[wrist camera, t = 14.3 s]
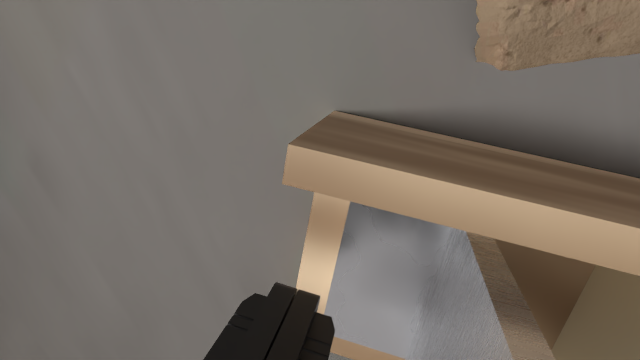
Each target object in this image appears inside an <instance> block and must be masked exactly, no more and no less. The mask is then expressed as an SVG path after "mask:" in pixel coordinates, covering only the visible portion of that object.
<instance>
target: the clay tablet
mask: <svg viewBox="0 0 640 360" xmlns="http://www.w3.org/2000/svg"><path fill="white" fill-rule="evenodd" d="M476 1H477V4H478V5H477V7H476V14H477V16H478V18H479V22H478V23H477V24H476V30H477V32H478V34H479V36H480V38H479V39H478V41H477V44H476V47H475V48H474V49H475V54H476V57H477V61H476V62H486V63H489V64H491V65H494V66H495V67H496V68H497V69H499V70H509V71H513V70H520V69H525V68H531V67H538V66H542V65H547V64H553V63H566V62H575V61H580V60H585V59H590V58H596V57H615V56H624V55H630V54H637V53H640V0H476Z"/></svg>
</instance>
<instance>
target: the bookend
mask: <svg viewBox="0 0 640 360" xmlns="http://www.w3.org/2000/svg"><path fill="white" fill-rule="evenodd" d="M324 315H327V316H330V317H332V320H333V324H334V328H335V334H334V337H337V338H340V339H343V340H347V341H350V342H353V343H356V344H359V345H362V346H366V347H369V348H372V349H375V350H378V351H381V352H385V353H388V354H391V355H394V356H397V357H400V358H404V359H405V360H556V359H555V357H554V355H553V353H552V351H551V349H550V347H549V345H548V344H547V342H546V340H545V338H544V336H543V334H542V332H541V330H540V328H539V326H538V324H537V322H536V320H535V318H534V316H533V314H532V312H531V310H530V308H529V306H528V304H527V302H526V300H525V299H524V297H523V295H522V293H521V291H520V289H519V287H518V285H517V283H516V281H515V279H514V277H513V275H512V273H511V271H510V269H509V267H508V265H507V263H506V261H505V259H504V257H503V255H502V253H501V252H500V250H499V248H498V246H497V244H496V242H495V240H494V238H490V237H486V236H483V235H479V234H475V233H471V232H467V231H463V230H459V229H455V228H452V227H448V226H444V225H440V224H436V223H432V222H428V221H424V220H421V219H417V218H413V217H409V216H405V215H401V214H397V213H393V212H390V211H386V210H382V209H378V208H374V207H370V206H366V205H362V204H358V203H355V202H351V201H350V205H349V209H348V214H347V218H346V222H345V226H344V231H343V235H342V239H341V244H340V248H339V252H338V256H337V261H336V265H335V269H334V273H333V278H332V282H331V286H330V291H329V295H328V299H327V303H326V308H325V312H324Z"/></svg>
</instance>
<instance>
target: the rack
mask: <svg viewBox="0 0 640 360" xmlns="http://www.w3.org/2000/svg"><path fill="white" fill-rule="evenodd" d="M282 184H285V185H289V186H293V187H296V188H300V189H304V190H308V191H312V192H314V198H313V203H312V208H311V213H310V218H309V223H308V229H307V234H306V239H305V244H304V249H303V255H302V260H301V265H300V270H299V275H298V280H297V286H296V289H298V290H299V289H300V290H303V291H307V292H310V293H313V294H316V295H320V301H319V305H318V310H317V313H321V314H324V312H325V308H326V303H327V299H328V295H329V291H330V286H331V282H332V278H333V273H334V269H335V265H336V261H337V256H338V252H339V248H340V244H341V239H342V235H343V231H344V226H345V222H346V218H347V214H348V209H349V205H350V201H351V202H355V203H358V204H362V205H366V206H370V207H374V208H378V209H382V210H386V211H390V212H393V213H397V214H401V215H405V216H409V217H413V218H417V219H421V220H424V221H428V222H432V223H436V224H440V225H444V226H448V227H452V228H455V229H459V230H463V231H467V232H471V233H475V234H479V235H483V236H486V237H490V238H494V240H495V242H496V244H497V246H498V248H499V250H500V252H501V253H502V255H503V257H504V259H505V261H506V263H507V265H508V267H509V269H510V271H511V273H512V275H513V277H514V279H515V281H516V283H517V285H518V287H519V289H520V291H521V293H522V295H523V297H524V299H525V300H526V302H527V304H528V306H529V308H530V310H531V312H532V314H533V316H534V318H535V320H536V322H537V324H538V326H539V328H540V330H541V332H542V334H543V336H544V338H545V340H546V342H547V344H548V345H549V347H550V349H551V350H552V348H553V346H554V344H555V342H556V340H557V338H558V337H559V335H560V333H561V331H562V329H563V327H564V325H565V323H566V321H567V319H568V317H569V316H570V314H571V312H572V310H573V308H574V306H575V304H576V302H577V300H578V298H579V296H580V295H581V293H582V291H583V289H584V287H585V285H586V283H587V281H588V279H589V277H590V275H591V274H592V272H593V270H594V268H595V266H596V265H599V266H603V267H607V268H611V269H614V270H618V271H622V272H626V273H630V274H634V275H638V276H640V178H635V177H631V176H626V175H622V174H617V173H613V172H608V171H604V170H599V169H595V168H590V167H586V166H581V165H577V164H572V163H568V162H563V161H559V160H554V159H550V158H545V157H541V156H536V155H532V154H527V153H523V152H518V151H514V150H509V149H505V148H500V147H496V146H491V145H487V144H482V143H478V142H473V141H469V140H464V139H460V138H455V137H451V136H446V135H442V134H437V133H433V132H428V131H424V130H419V129H415V128H410V127H406V126H401V125H397V124H392V123H388V122H383V121H379V120H374V119H370V118H365V117H361V116H356V115H352V114H347V113H343V112H338V111H333V112H332V113H331V114H329V115H328V116H326V117H325V118H324V119H322V120H321V121H320V122H318V123H317V124H315V125H314V126H313V127H311V128H310V129H308V130H307V131H306V132H304V133H303V134H302V135H300V136H299V137H297V138H296V139H295V140H293V141H292V142H290V143H289V144H288V149H287V155H286V162H285V168H284V175H283V181H282ZM330 352H332V353H335V354H338V355H341V356H344V357H347V358H351V359H354V360H405V359H404V358H400V357H397V356H394V355H391V354H388V353H385V352H381V351H378V350H375V349H372V348H369V347H366V346H362V345H359V344H356V343H353V342H350V341H347V340H343V339H340V338H337V337H334V338H333V342H332V345H331V349H330Z"/></svg>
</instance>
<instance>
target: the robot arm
mask: <svg viewBox="0 0 640 360" xmlns="http://www.w3.org/2000/svg"><path fill="white" fill-rule="evenodd" d="M319 301H320V295H316V294H313V293H310V292H307V291H303V290H300V289H299V290H298V289H296V288H293V287H290V286H287V285H283V284H280V283H277V282H276V283H275V284H274V286H273V287H272V289H271V291H270V293H269V294H268V296H267V297H266V296H263V295H260V294H256V293H255V294H253V295H252V296H250V297H249V298H247V299H245V300H244V301H242V303H241V304H240V306H239V307H238V309H237V310H236V312H235V314H234V316H232V318H231V319H230V321H229V322H228V325H227V326H226V327H225V328H224V330H223V331H222V333H221V334H220V336H219V337H218V339H217V340H216V342H215V343H214V345H213V346H212V348H211V349H210V351H209V352H208V354H207V355H206V357H205V358H204V360H328V357H329V353H330V349H331V345H332V342H333V338H334V334H335V328H334V324H333V320H332V317H330V316H327V315H324V314H321V313H317V310H318V305H319Z"/></svg>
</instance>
